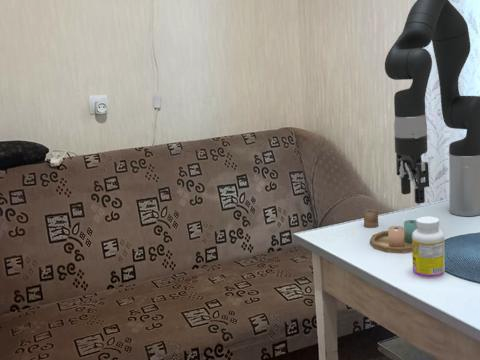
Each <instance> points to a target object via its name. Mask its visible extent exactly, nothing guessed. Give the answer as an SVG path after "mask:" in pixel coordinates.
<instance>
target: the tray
mask: <svg viewBox="0 0 480 360" xmlns="http://www.w3.org/2000/svg"><path fill="white" fill-rule="evenodd" d="M369 244H370V246H371V248H373V249H375V250H377V251H379V252H383V253H387V254H388V253H389V254H411V253H412V244H408V243H405V247H402V248H401V247H389V239H388V230H382V231H380V232H377V233H374V234H372V235H371V237H370V239H369Z"/></svg>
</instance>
